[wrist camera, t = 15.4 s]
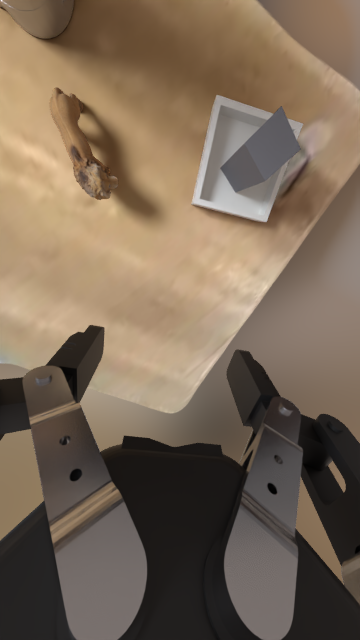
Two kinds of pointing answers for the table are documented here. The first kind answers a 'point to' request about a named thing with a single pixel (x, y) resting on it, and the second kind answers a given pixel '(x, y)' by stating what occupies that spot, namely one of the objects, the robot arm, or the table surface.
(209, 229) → the table surface
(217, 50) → the table surface
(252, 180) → the handle block
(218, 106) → the tray
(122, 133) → the table surface
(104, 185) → the lion figurine
